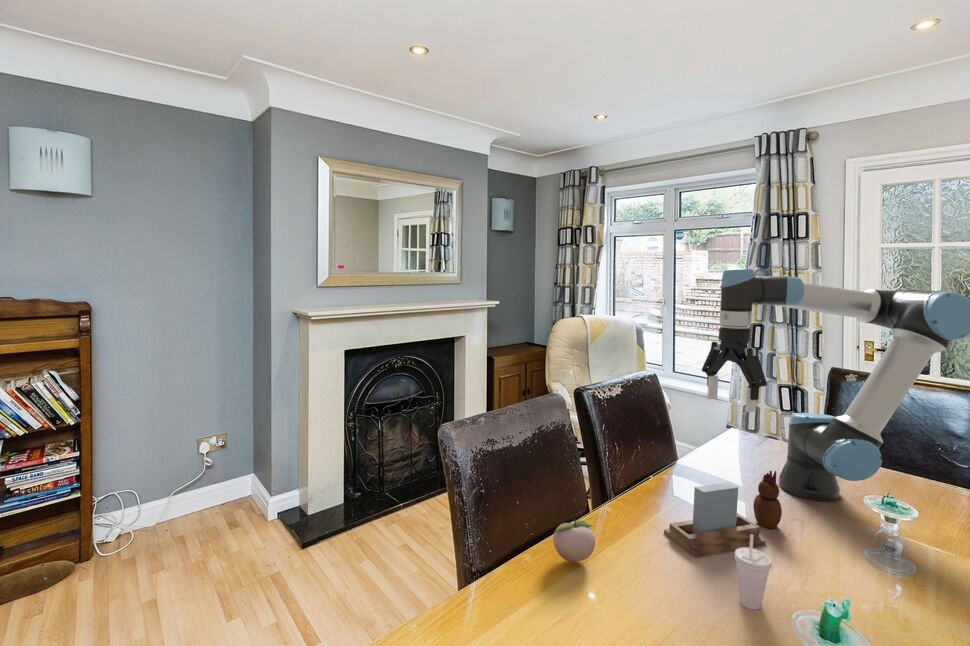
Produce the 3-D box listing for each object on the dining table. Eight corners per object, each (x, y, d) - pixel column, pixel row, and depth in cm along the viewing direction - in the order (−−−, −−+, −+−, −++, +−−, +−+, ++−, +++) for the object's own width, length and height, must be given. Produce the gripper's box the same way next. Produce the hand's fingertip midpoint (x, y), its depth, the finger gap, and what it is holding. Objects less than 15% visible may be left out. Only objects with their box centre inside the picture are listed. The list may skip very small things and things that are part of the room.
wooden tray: (730, 522, 126) (731, 509, 125) (765, 544, 115) (766, 531, 115) (664, 532, 120) (664, 519, 120) (694, 557, 110) (695, 543, 109)
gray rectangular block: (726, 528, 120) (728, 482, 119) (735, 534, 118) (738, 487, 116) (692, 534, 118) (694, 486, 117) (700, 540, 115) (703, 492, 114)
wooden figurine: (784, 532, 121) (788, 474, 119) (758, 530, 122) (762, 472, 120) (773, 519, 127) (777, 464, 126) (749, 517, 129) (753, 462, 127)
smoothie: (725, 593, 98) (729, 526, 96) (755, 591, 98) (759, 525, 97) (744, 615, 91) (749, 544, 90) (777, 613, 92) (781, 543, 90)
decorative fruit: (569, 579, 102) (570, 533, 101) (546, 558, 109) (547, 516, 108) (603, 566, 106) (605, 523, 105) (580, 548, 113) (581, 507, 112)
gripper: (691, 322, 140) (687, 394, 142) (762, 332, 116) (756, 418, 119) (712, 322, 142) (708, 393, 144) (786, 331, 119) (781, 416, 121)
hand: (730, 404), depth 132 cm, fingers open, 13 cm apart
